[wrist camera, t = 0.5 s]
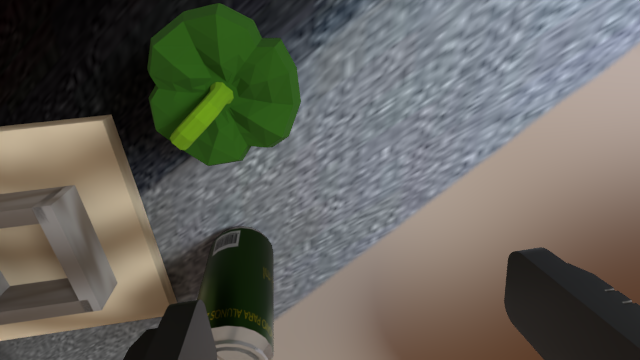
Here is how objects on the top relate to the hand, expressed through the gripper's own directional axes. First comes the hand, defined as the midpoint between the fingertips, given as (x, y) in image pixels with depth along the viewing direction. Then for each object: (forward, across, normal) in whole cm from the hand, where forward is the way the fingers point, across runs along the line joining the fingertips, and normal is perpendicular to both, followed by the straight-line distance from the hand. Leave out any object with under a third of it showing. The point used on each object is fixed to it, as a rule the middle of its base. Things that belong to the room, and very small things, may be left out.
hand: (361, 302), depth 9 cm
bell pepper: (+19, +5, -6) cm, 20 cm away
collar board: (+20, +22, +5) cm, 30 cm away
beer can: (+21, +7, +9) cm, 24 cm away
